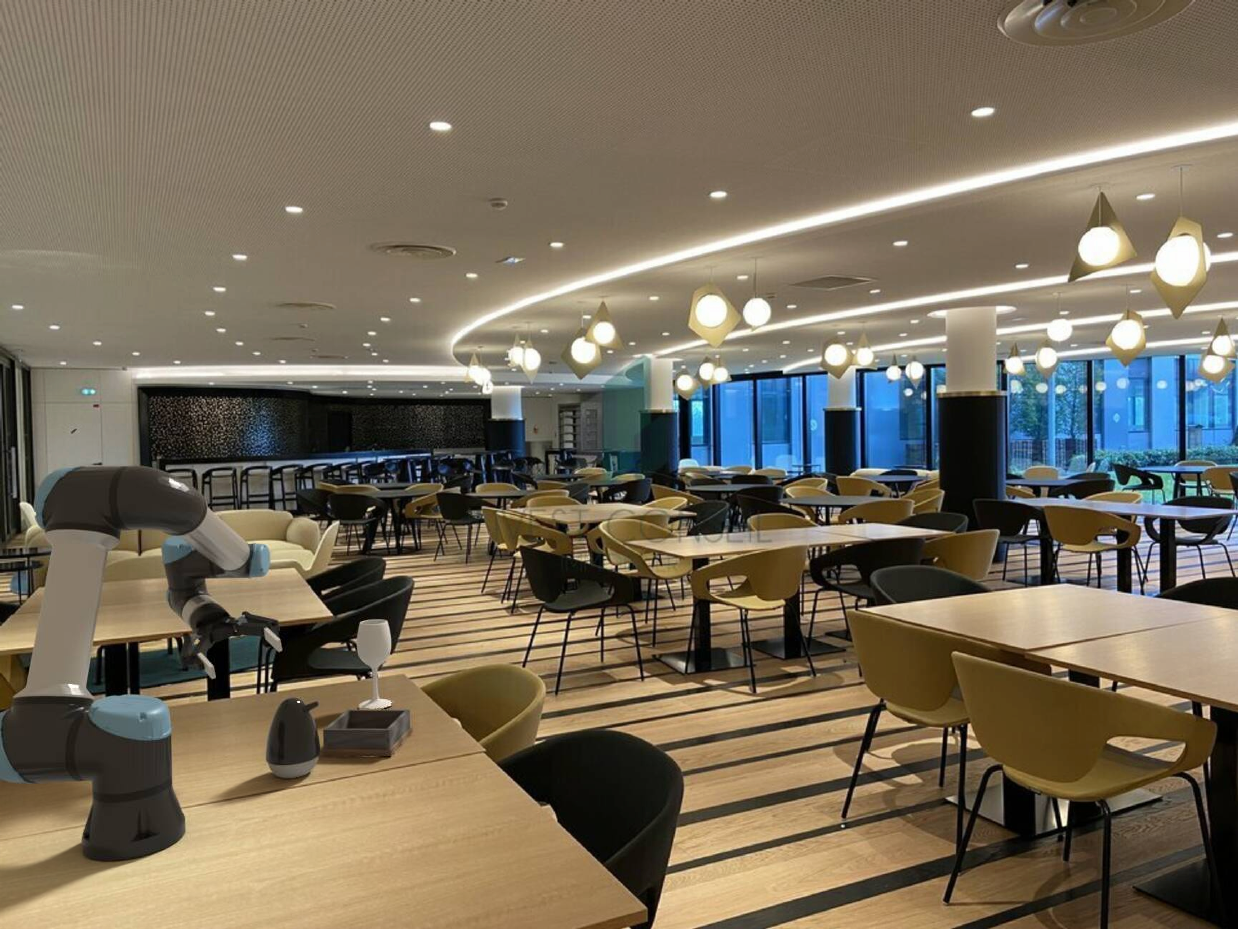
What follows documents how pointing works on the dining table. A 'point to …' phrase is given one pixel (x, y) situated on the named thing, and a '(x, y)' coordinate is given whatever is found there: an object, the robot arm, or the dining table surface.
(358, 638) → the wineglass
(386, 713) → the holder
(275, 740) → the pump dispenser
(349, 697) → the dining table surface
